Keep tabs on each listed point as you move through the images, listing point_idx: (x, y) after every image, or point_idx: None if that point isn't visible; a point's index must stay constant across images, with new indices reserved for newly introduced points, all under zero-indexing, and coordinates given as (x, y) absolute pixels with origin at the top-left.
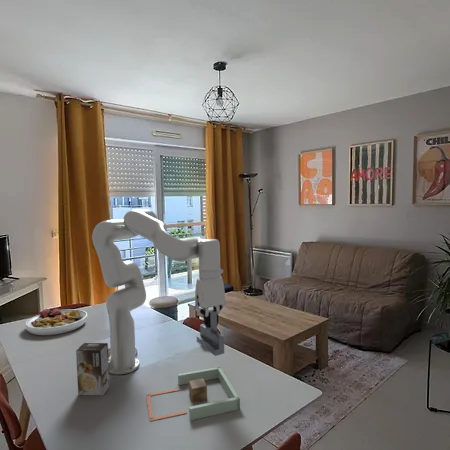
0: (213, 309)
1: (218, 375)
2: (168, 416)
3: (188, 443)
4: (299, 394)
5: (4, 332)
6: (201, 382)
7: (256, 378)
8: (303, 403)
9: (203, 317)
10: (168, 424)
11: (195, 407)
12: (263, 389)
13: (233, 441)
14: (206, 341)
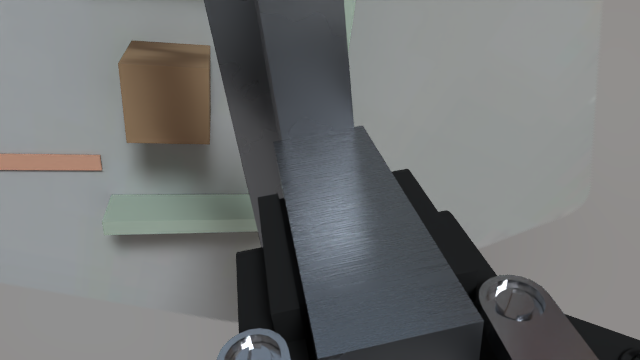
0: (498, 347)
1: None
2: (16, 167)
3: (96, 292)
4: (540, 194)
5: None
6: (188, 106)
7: (495, 38)
8: (511, 234)
9: (239, 319)
10: (20, 204)
11: (130, 231)
12: (461, 127)
13: (233, 311)
14: (257, 125)
